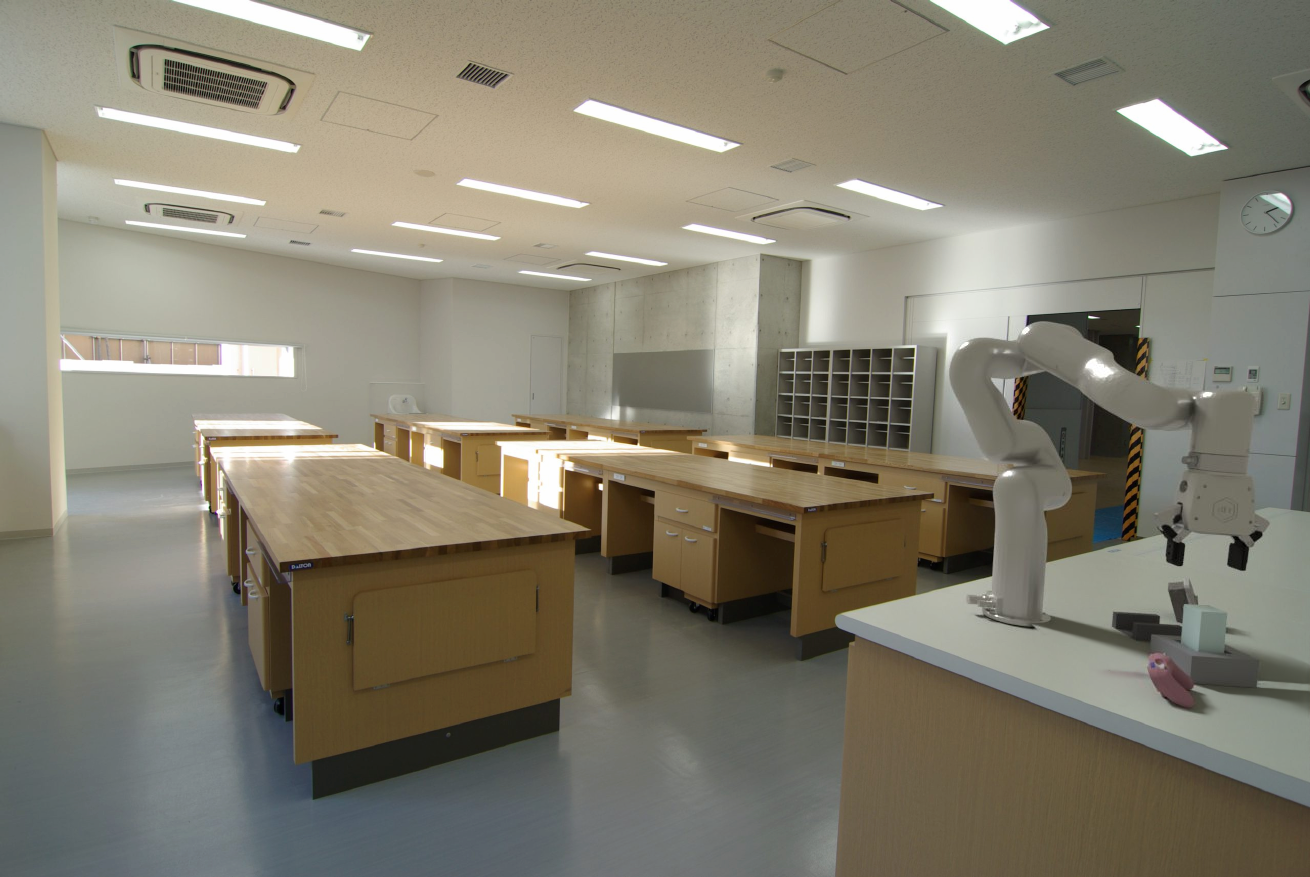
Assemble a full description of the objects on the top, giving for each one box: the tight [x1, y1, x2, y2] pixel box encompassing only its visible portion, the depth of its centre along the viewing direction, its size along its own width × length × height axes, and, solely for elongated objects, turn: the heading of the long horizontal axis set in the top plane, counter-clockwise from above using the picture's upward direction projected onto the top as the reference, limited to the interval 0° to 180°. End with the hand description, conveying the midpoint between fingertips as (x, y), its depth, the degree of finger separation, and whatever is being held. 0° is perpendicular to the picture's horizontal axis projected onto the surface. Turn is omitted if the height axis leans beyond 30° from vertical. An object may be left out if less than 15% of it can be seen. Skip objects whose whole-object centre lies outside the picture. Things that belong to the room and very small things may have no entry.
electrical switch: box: [1167, 577, 1199, 624], centre depth 138 cm, size 9×5×9 cm, turn 141°
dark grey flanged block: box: [1111, 611, 1182, 643], centre depth 127 cm, size 8×8×4 cm
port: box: [1149, 634, 1260, 689], centre depth 111 cm, size 10×10×5 cm
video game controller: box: [1146, 653, 1195, 709], centre depth 102 cm, size 10×5×7 cm, turn 141°
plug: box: [1181, 604, 1228, 653], centre depth 111 cm, size 4×4×10 cm
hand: (1205, 566), depth 111 cm, fingers open, 9 cm apart
